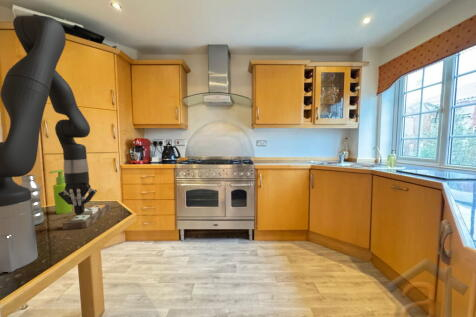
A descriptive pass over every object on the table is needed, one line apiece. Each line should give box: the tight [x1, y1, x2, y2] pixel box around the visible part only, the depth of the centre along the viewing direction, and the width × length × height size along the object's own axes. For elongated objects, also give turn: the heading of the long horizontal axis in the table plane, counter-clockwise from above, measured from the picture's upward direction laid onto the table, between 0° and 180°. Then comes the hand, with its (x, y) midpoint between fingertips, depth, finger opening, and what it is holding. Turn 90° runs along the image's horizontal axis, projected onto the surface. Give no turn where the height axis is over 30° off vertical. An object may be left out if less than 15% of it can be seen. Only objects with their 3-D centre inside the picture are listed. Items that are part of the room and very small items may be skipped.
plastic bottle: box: [19, 174, 45, 226], centre depth 81 cm, size 6×7×20 cm
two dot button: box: [70, 215, 90, 221], centre depth 81 cm, size 4×4×3 cm
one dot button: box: [90, 204, 106, 209], centre depth 94 cm, size 4×4×3 cm
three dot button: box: [81, 207, 98, 215], centre depth 87 cm, size 4×4×3 cm
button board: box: [62, 204, 112, 230], centre depth 88 cm, size 21×8×2 cm, turn 10°
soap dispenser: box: [48, 169, 73, 215], centre depth 95 cm, size 6×7×20 cm
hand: (79, 214), depth 81 cm, fingers closed
